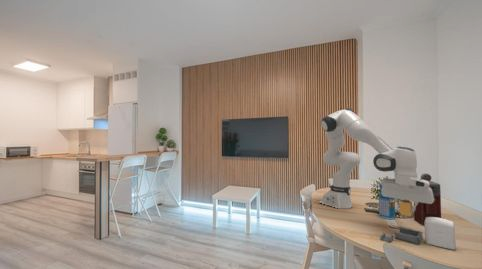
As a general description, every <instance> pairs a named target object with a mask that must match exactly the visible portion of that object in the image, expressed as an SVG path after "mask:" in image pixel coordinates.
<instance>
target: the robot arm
mask: <svg viewBox="0 0 482 269" xmlns="http://www.w3.org/2000/svg"><path fill="white" fill-rule="evenodd" d="M320 125H321V128H322V129H323V131H325V135H326V140H327V144H328V147H327V151H326V152H325V153H324V154H323V155H322V161H323V163H324V164H325V165H327V166H331V167H339V170H338V171H336V172H333V174H332V185H330V186H329V189H330V190H328V191H326V193H324V194H323V195H322V199H320V200H319V201H321V202H318V204H319V203H322V204H321V205H323V204H326V205H329V206H332V207H331V208H333V207H335V208H334V209H337V208H338V209H351V207H352V206H353V203H352V200H351V199H352V198H351V192H352V190H351V184H350V181H351V173H353V171H354V169H355V168H357V167H358V166H359V165H360V164H361V157H360V155H359V153H357V152H354V151H353V152H352V151H341V150H340V149H341V148H343V147H344V146H345V145H346V139H345V134H344V132H345V133H346V135H348V136H349V137H350V138H351V139H352V140H354V141H357V142H361V143H364V144H367V145H369V146H370V147H372V148H373V149H374V150H375V151H376V152H377V154H376V155H375V156H374V157H373V166H374V167H375V169H376V170H378V171H380V172H383V173H384V172H393V173H394V178H387V177H386V178H383V179H382V180H381V182H380V184H381V185H382V192H381V194H382V195H383V196H384V197H390V198H394V200H395V204H396V208H398V209H400V201H399V200H409V201H410V202H413V205H412V206H411V210H412V212H414V211H415V210H416V206H417V204H418V202H421V203H428V204H432V203H433V202H434V197H433V192H432V189H431V188H430V187H429V185H430V182H429V181H426V180H423V179H421V177H418V173H417V167H418V162H417V154H416V151H415V150H414V149H413V148H411V147H405V146H396V147H395V148H391V146H389V145H388V144H387V143H386V142H385V141H384V140H383V139H382V138H381V137H380V136H378V135H377V134H376V133H375V131H373V130H372V129H371V128H370V127H369V125H367V124H366V123H365V121H363V119H362V118H361V117H359V116H358V114H356V113H355V111H354V109H352V108H351V107H350V108H349V107H348V108H343V109H341V110H337V111H334V112H332V113H331V114H328V115H326V116H324V117H323V118H321V120H320ZM414 204H415V205H414ZM326 205H325V206H326ZM329 206H328V207H329ZM352 208H353V207H352Z"/></svg>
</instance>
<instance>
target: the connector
mask: <svg viewBox="0 0 482 269" xmlns="http://www.w3.org/2000/svg"><path fill="white" fill-rule="evenodd" d="M399 203H400V208H399V210H400V211H399V212H400V215H403V216H407V217H408V216H409V217H411V216H413V210H411V206H413V201H409V200H403V199H401V200H400V201H399Z"/></svg>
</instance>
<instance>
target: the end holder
mask: <svg viewBox="0 0 482 269" xmlns="http://www.w3.org/2000/svg"><path fill="white" fill-rule="evenodd" d="M423 235H424V234H423V231H420V230H416V229H412V228H407V227H402V226H399V232H398V231H395V232H394V236H395V237H394V238H395V240H398V241H401V242H402V241H403V242H406V243H408V244H409V243H410V244H412V245H413V244H414V245H417V246H420V244H421V243H422V241H423V238H424V237H423Z"/></svg>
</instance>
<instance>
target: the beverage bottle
mask: <svg viewBox="0 0 482 269" xmlns="http://www.w3.org/2000/svg"><path fill="white" fill-rule="evenodd" d="M379 189H380V191H379V193H378V196H379V197H378V210H379V211H378V213H379V214H378V216H379V217H380V218H382V219H386V220H395V218H396V202H395V200H394V198H390V197H384V196H383V195H382V194H381V192H382V185H381V183H380V184H379Z"/></svg>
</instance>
